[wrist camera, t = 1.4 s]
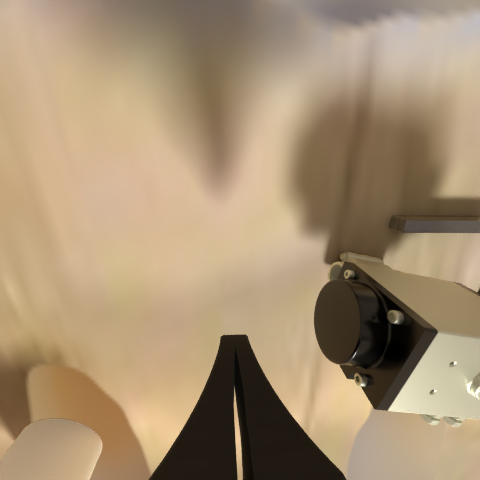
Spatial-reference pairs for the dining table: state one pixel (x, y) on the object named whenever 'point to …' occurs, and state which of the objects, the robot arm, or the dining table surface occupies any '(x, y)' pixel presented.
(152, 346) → the dining table surface
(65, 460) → the base with upright slab
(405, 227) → the guide rails
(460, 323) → the pneumatic valve
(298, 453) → the robot arm
